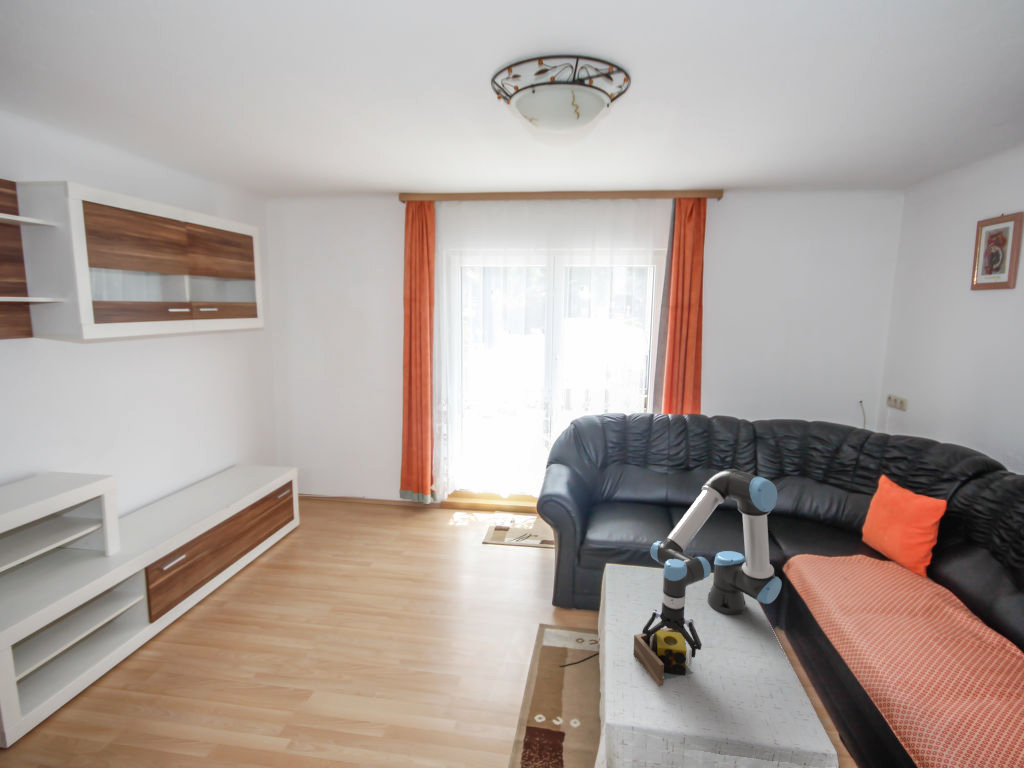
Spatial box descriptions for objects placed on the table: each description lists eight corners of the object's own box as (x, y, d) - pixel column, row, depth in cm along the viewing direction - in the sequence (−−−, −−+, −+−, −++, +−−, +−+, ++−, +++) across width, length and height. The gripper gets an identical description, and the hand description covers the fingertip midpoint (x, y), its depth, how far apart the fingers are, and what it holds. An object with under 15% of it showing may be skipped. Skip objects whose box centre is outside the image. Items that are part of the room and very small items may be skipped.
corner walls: (677, 644, 194) (678, 625, 193) (705, 673, 178) (707, 653, 177) (633, 654, 188) (634, 635, 187) (659, 686, 173) (660, 665, 171)
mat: (673, 652, 189) (673, 651, 189) (692, 672, 179) (692, 671, 179) (648, 658, 186) (648, 657, 186) (665, 679, 176) (665, 678, 176)
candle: (683, 657, 186) (685, 632, 185) (686, 677, 177) (688, 651, 175) (654, 652, 189) (656, 628, 187) (655, 672, 179) (657, 646, 177)
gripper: (635, 599, 181) (633, 653, 185) (709, 619, 170) (705, 676, 173) (640, 589, 188) (638, 641, 191) (712, 607, 176) (708, 662, 180)
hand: (670, 658), depth 182 cm, fingers open, 13 cm apart
